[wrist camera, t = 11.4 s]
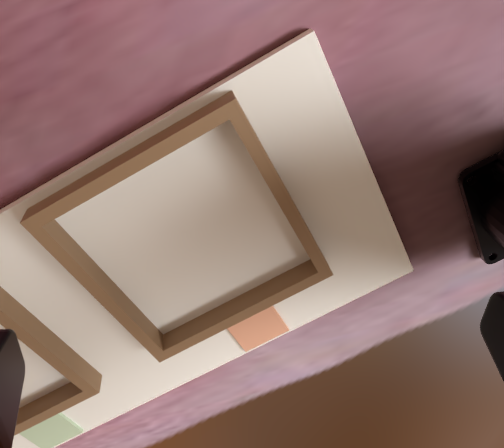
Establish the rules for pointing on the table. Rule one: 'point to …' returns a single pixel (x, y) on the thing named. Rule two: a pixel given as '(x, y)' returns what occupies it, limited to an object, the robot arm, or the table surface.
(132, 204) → the cream sorting board
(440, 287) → the table surface
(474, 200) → the robot arm
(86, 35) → the table surface
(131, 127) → the table surface
